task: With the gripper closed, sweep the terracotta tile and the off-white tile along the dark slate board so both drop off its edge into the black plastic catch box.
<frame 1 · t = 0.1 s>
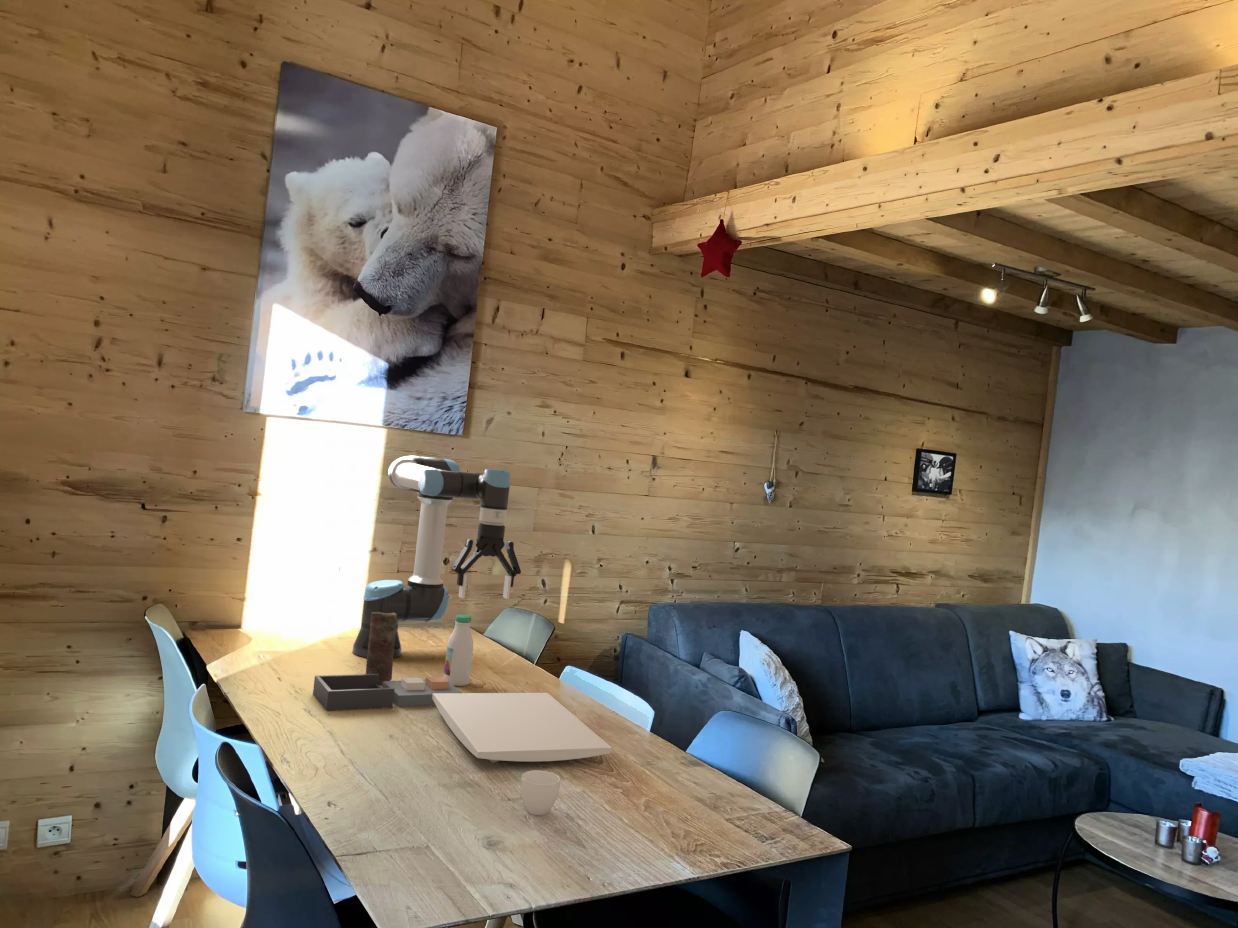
hand: (483, 597, 255), 28 cm above the table, fingers open, 13 cm apart
cup: (534, 809, 180), on the table
candle: (377, 681, 259), on the table
tile white: (412, 687, 245), point 3 cm above the table, touching slate board
milk bottle: (456, 683, 266), on the table
tile terracotta: (436, 686, 249), point 3 cm above the table, touching slate board
slate board: (421, 697, 247), on the table
board: (514, 738, 223), on the table
catch box: (352, 700, 237), on the table
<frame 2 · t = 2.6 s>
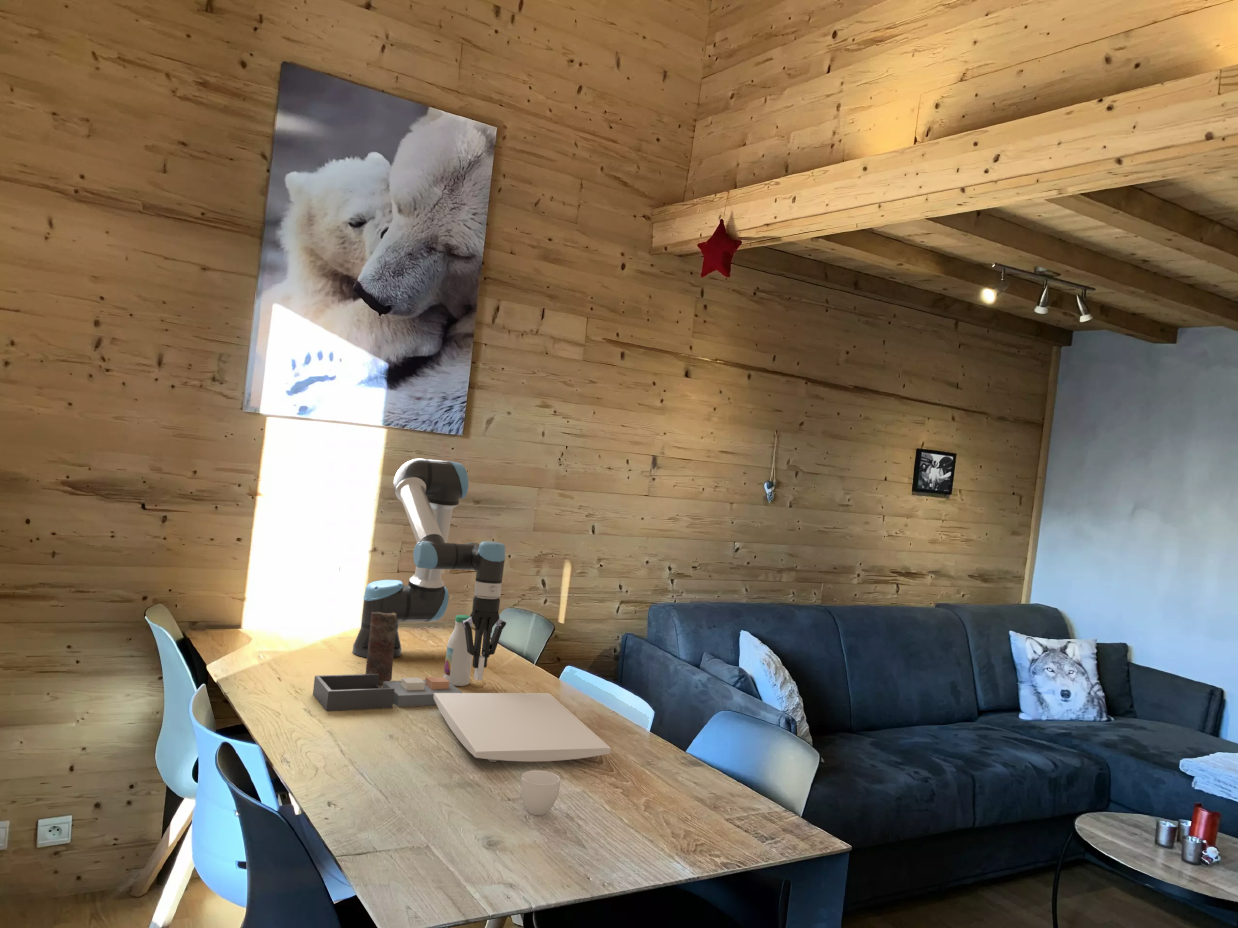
hand: (478, 678, 255), 5 cm above the table, fingers closed
nothing on the table moved.
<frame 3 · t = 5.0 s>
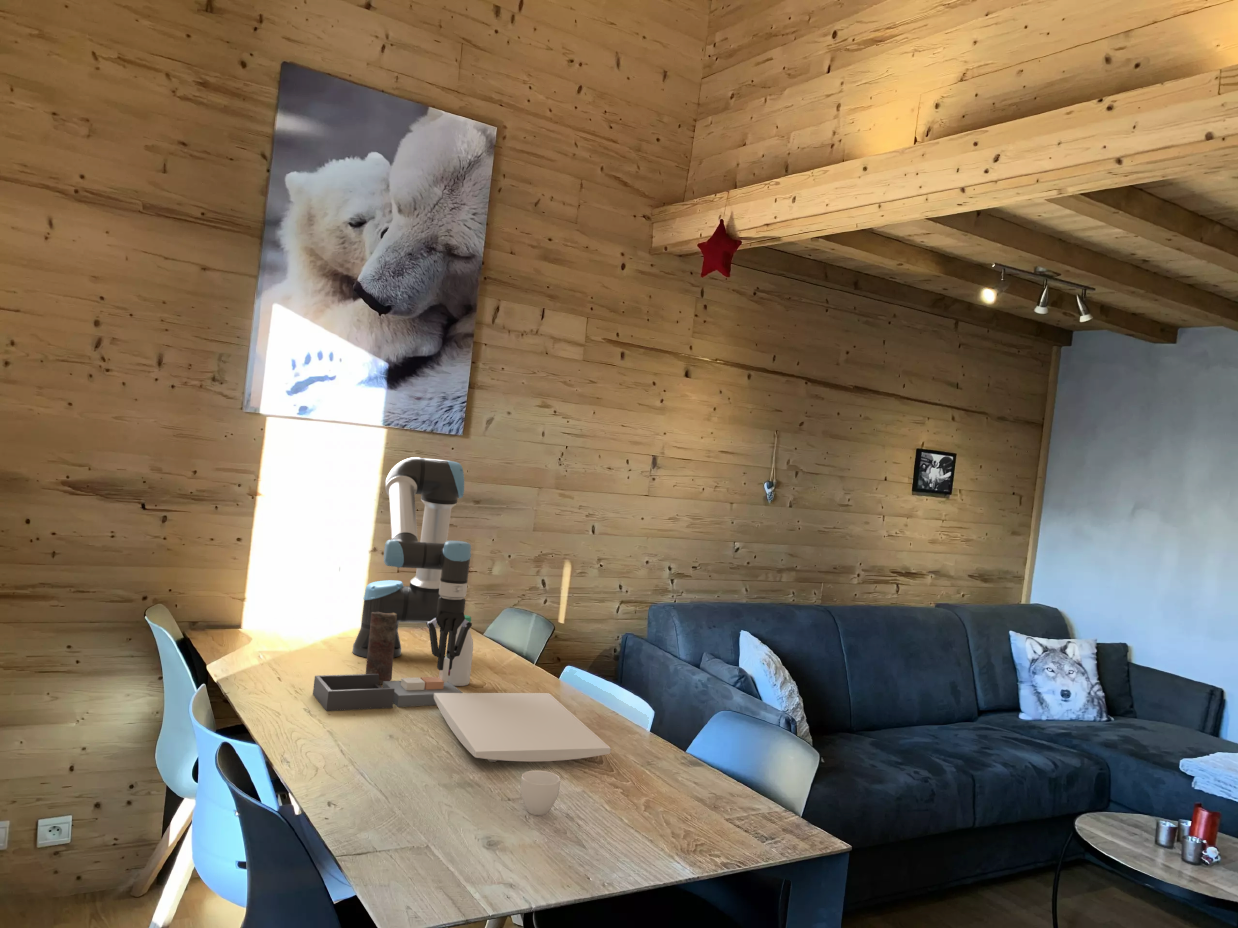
hand: (442, 681, 250), 4 cm above the table, fingers closed
tile terracotta: (431, 686, 248), point 3 cm above the table, touching gripper
everything else where it was.
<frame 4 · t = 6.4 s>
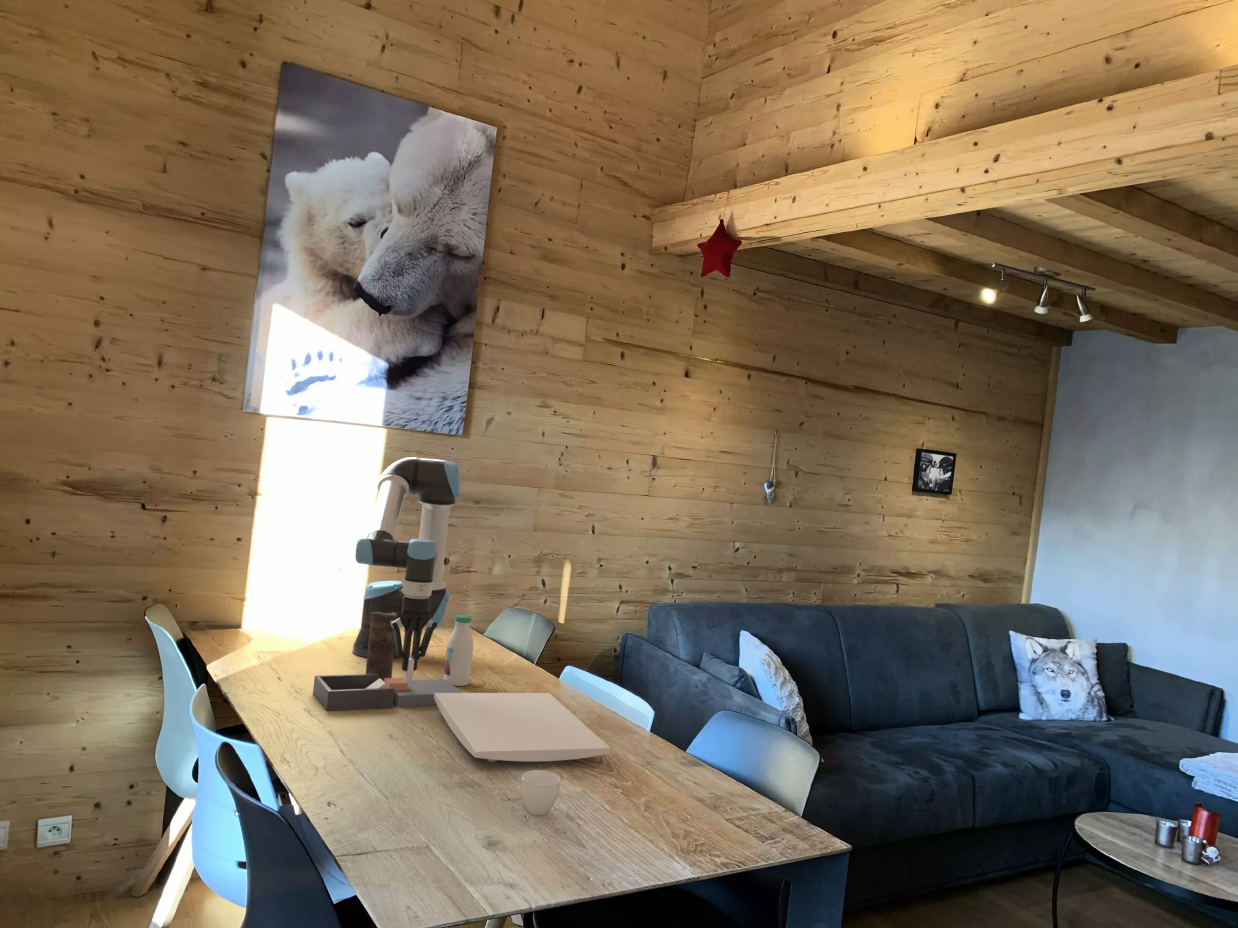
hand: (407, 682, 245), 4 cm above the table, fingers closed
tile white: (378, 692, 241), point 2 cm above the table, tilted 37°, touching tile terracotta
tile terracotta: (395, 687, 243), point 3 cm above the table, touching gripper, tile white
everything else where it was.
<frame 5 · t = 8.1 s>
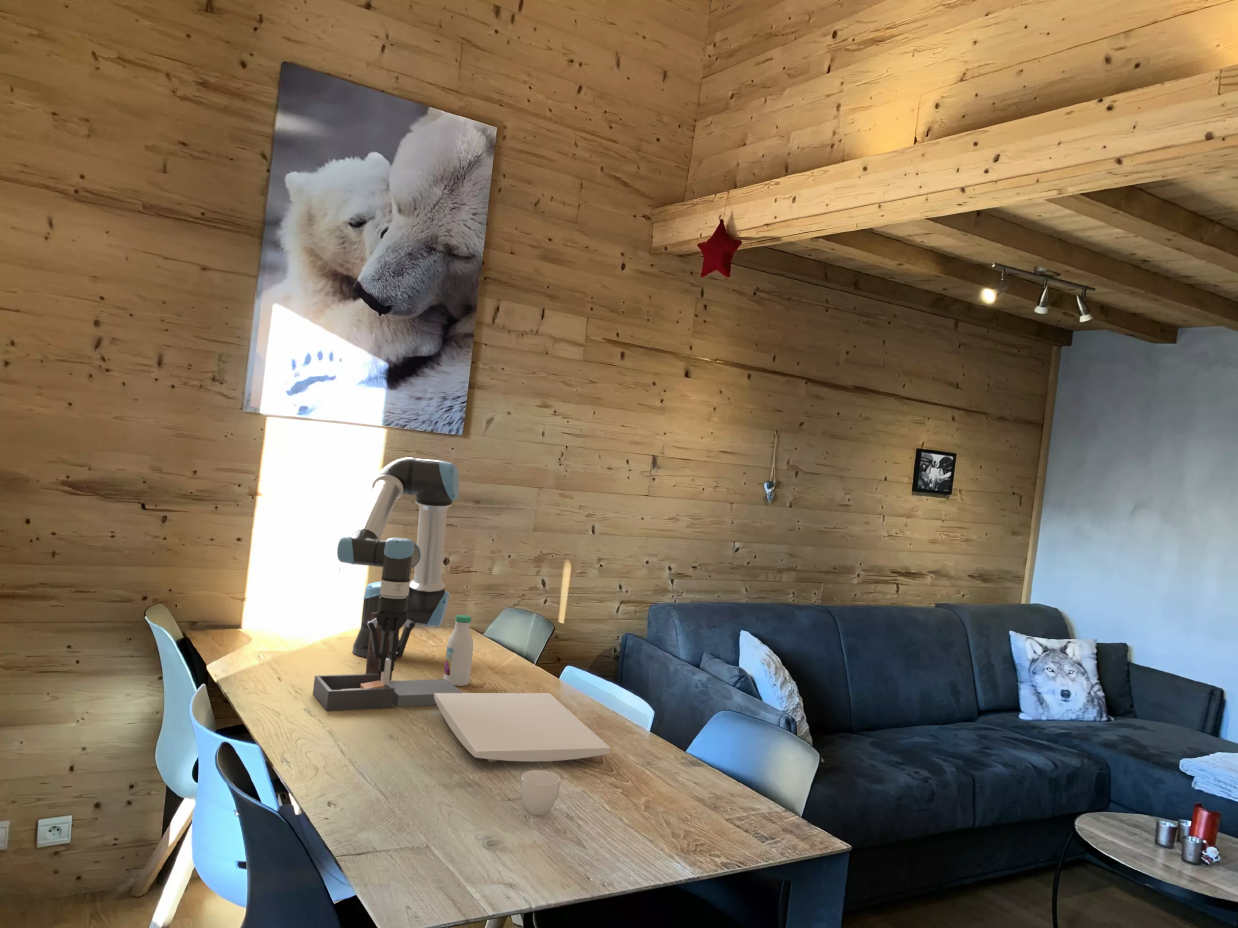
hand: (384, 683, 241), 4 cm above the table, fingers closed
tile white: (352, 698, 237), resting on catch box, touching tile terracotta
tile terracotta: (372, 691, 240), point 2 cm above the table, tilted 9°, touching catch box, gripper, tile white
everything else where it was.
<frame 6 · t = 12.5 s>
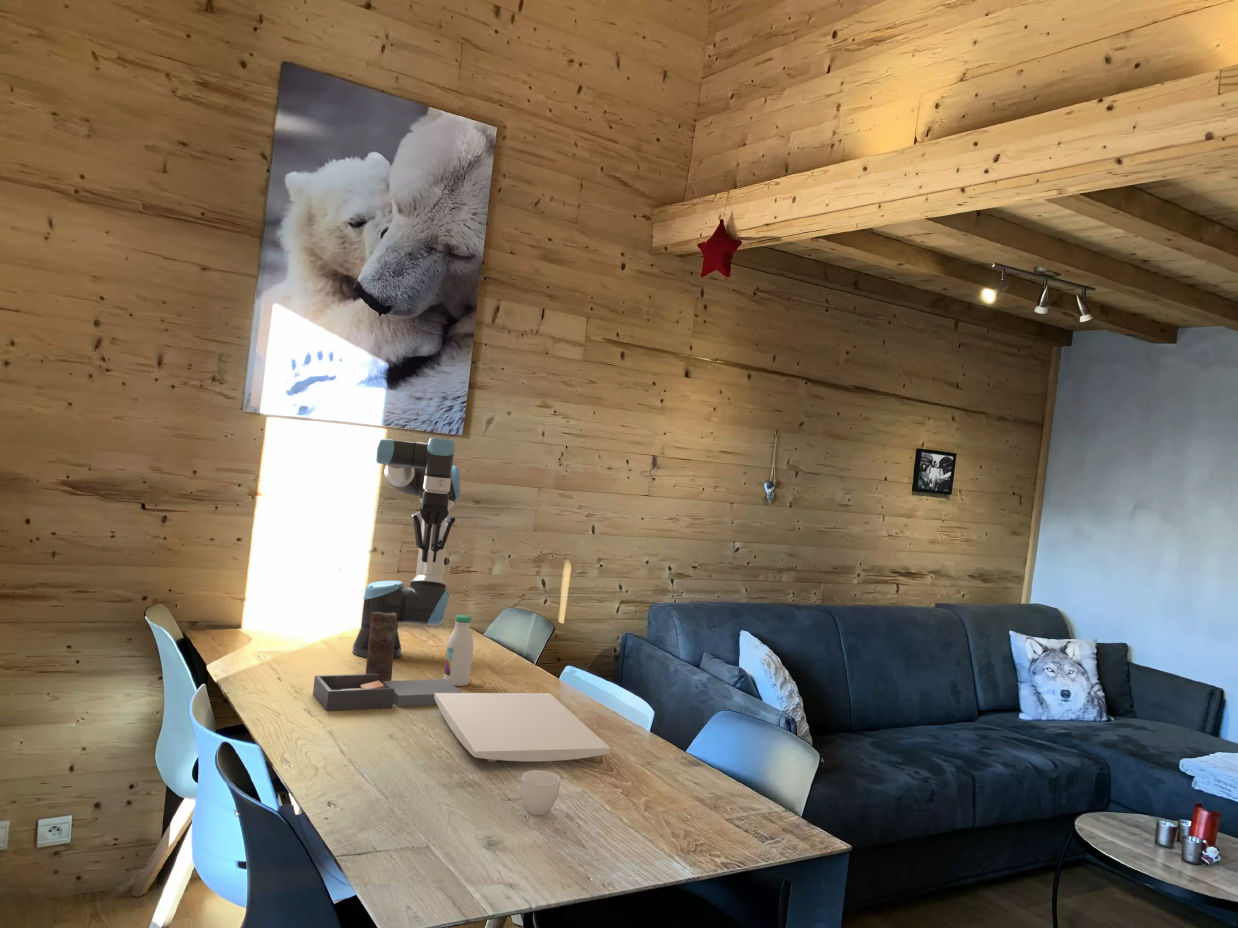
hand: (427, 573, 258), 32 cm above the table, fingers closed
tile terracotta: (372, 692, 240), point 2 cm above the table, tilted 12°, touching catch box, tile white
everything else where it was.
at the end: tile terracotta inside the target area on the catch box (5.2 cm from its centre), point 2.0 cm above the catch box's base; tile white inside the target area on the catch box (0.2 cm from its centre), point 0.5 cm above the catch box's base; tile terracotta point 2.0 cm above the table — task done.
